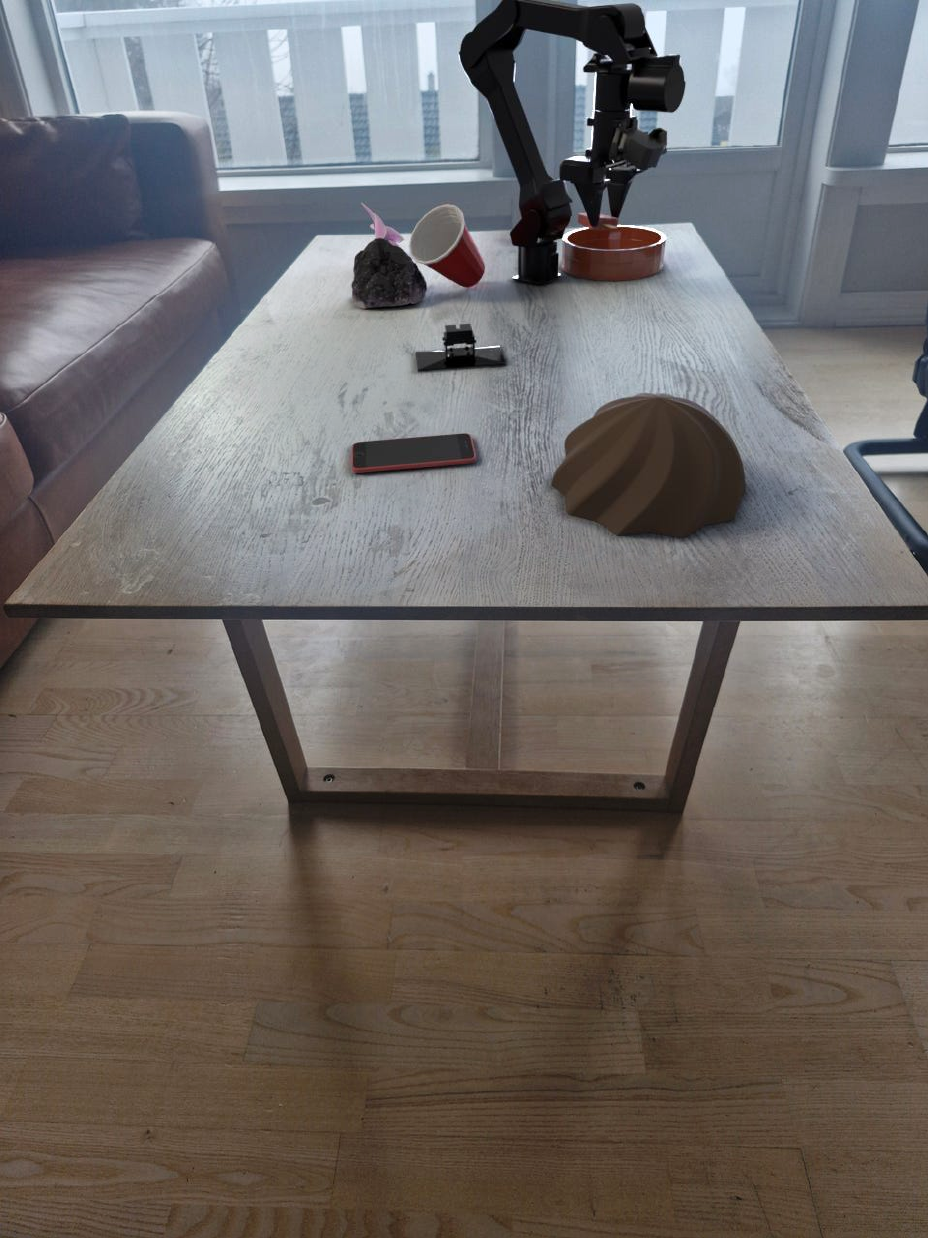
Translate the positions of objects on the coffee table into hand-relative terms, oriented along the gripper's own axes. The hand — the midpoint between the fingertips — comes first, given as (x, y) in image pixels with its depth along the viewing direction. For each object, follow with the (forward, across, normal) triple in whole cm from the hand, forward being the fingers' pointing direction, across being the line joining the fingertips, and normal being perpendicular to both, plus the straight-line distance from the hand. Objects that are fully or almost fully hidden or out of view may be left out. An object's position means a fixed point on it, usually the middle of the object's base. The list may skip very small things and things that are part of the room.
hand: (604, 222), depth 129 cm
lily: (+11, -5, +48) cm, 49 cm away
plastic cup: (+9, -9, +21) cm, 25 cm away
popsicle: (+1, 0, +1) cm, 2 cm away
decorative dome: (+11, -54, -42) cm, 69 cm away
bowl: (+11, +14, +7) cm, 19 cm away
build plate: (+11, -38, -1) cm, 39 cm away
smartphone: (+11, -63, -17) cm, 66 cm away
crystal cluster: (+11, -23, +28) cm, 38 cm away
